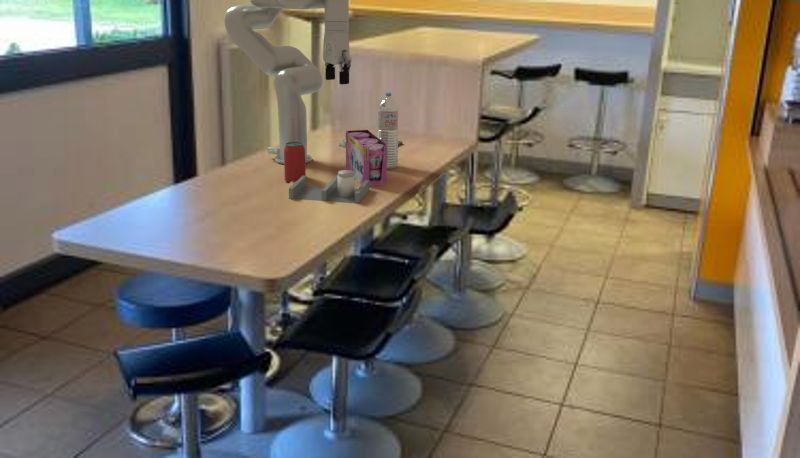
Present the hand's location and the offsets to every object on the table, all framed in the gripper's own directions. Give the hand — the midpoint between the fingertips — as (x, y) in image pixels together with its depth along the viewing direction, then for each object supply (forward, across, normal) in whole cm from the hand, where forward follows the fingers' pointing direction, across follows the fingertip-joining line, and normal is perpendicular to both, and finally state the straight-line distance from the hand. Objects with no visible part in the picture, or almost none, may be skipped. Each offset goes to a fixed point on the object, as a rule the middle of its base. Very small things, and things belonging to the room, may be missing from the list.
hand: (337, 81), depth 257 cm
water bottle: (+30, +3, +17) cm, 35 cm away
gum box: (+30, +12, +4) cm, 32 cm away
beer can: (+30, +4, -17) cm, 35 cm away
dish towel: (+30, -27, +27) cm, 49 cm away
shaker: (+28, +28, -12) cm, 42 cm away
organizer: (+30, +25, -15) cm, 41 cm away
